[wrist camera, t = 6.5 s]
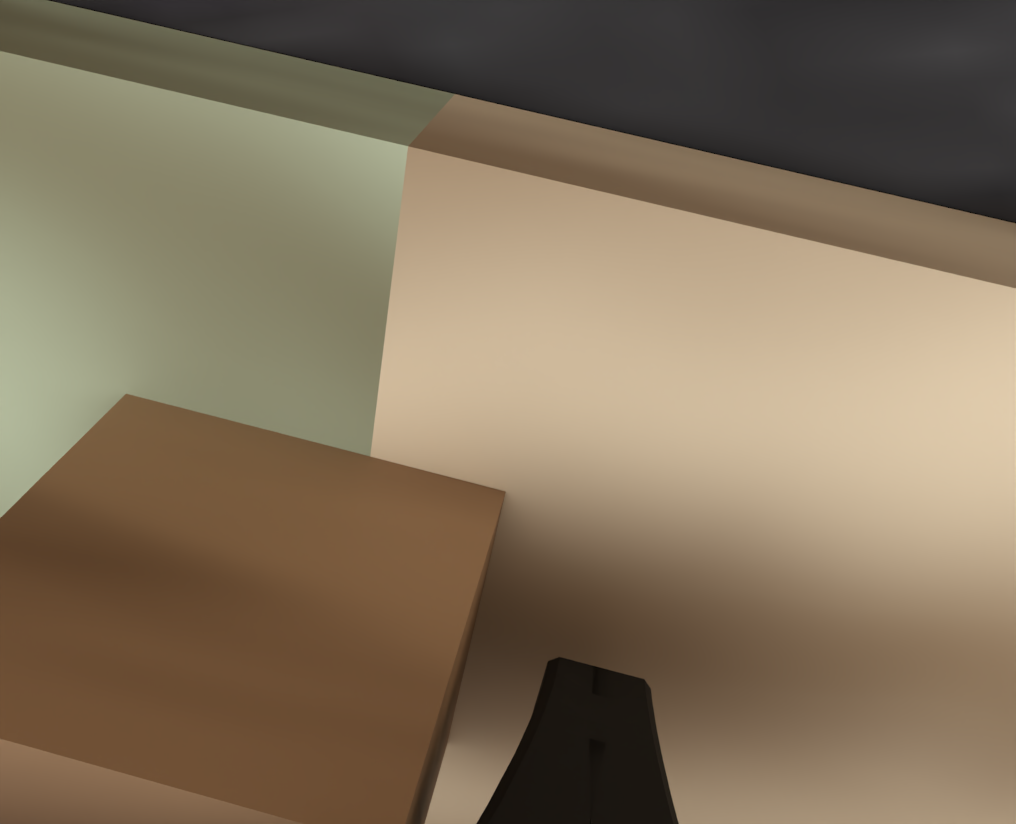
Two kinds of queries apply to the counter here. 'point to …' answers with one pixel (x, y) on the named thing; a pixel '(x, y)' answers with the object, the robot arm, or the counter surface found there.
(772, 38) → the counter surface
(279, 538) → the block
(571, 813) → the robot arm
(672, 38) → the counter surface
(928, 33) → the counter surface
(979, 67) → the counter surface
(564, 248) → the board
